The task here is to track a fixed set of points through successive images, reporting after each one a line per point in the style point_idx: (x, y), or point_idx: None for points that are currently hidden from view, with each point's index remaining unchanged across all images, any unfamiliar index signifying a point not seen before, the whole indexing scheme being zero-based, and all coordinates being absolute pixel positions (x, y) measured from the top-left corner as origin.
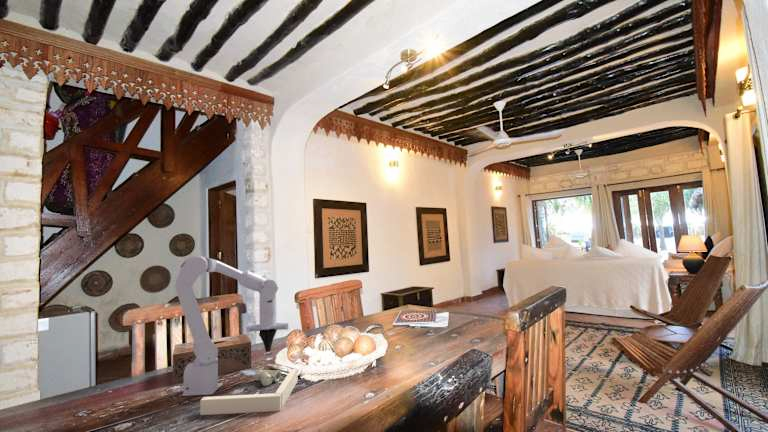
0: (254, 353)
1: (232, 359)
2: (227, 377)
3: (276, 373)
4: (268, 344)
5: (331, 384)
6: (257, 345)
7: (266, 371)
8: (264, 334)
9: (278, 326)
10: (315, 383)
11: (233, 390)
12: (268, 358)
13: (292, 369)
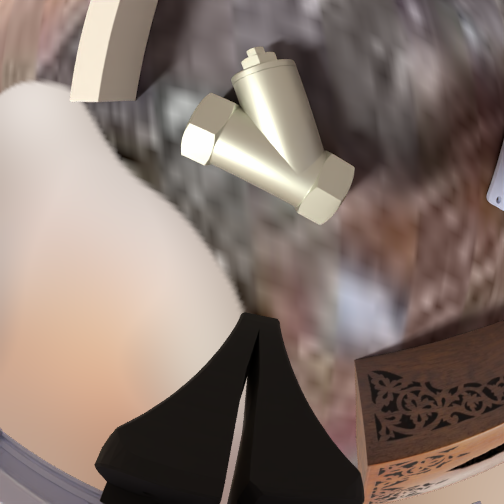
0: None
1: (443, 382)
2: (458, 286)
3: (199, 104)
4: (236, 356)
5: (12, 53)
6: None
7: (272, 151)
8: (270, 477)
9: (11, 494)
10: (48, 63)
11: (441, 92)
12: None
13: (92, 94)
